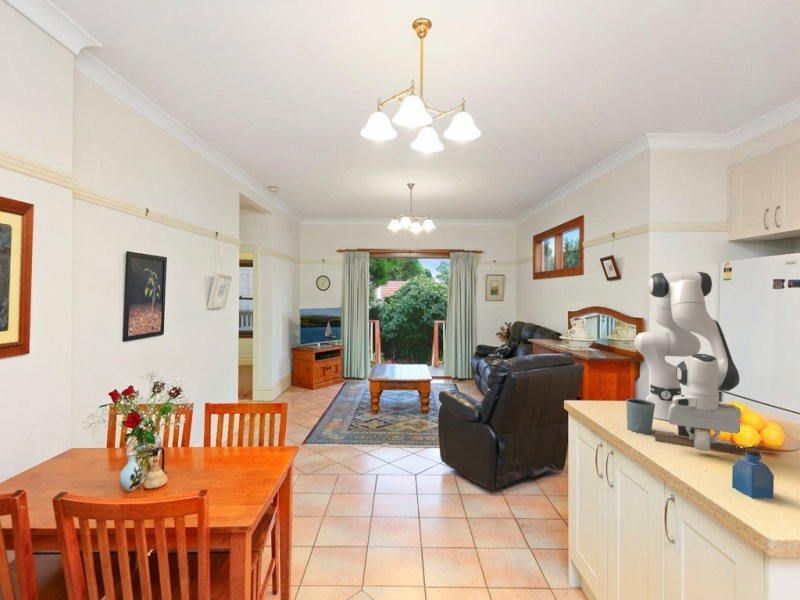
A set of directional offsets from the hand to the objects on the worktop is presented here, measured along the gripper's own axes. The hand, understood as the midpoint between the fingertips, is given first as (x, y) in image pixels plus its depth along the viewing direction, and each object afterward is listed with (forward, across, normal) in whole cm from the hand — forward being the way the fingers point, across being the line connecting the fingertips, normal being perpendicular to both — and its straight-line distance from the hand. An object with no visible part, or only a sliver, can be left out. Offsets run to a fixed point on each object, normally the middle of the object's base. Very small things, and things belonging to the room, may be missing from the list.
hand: (702, 441), depth 143 cm
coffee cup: (+5, +3, -21) cm, 22 cm away
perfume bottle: (+5, -9, +28) cm, 30 cm away
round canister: (+3, 0, 0) cm, 3 cm away
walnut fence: (+5, +1, -8) cm, 9 cm away
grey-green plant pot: (+5, +19, -18) cm, 26 cm away
